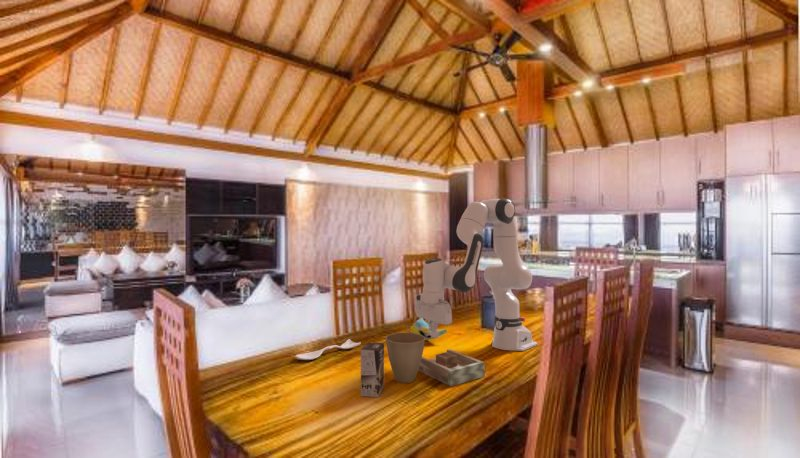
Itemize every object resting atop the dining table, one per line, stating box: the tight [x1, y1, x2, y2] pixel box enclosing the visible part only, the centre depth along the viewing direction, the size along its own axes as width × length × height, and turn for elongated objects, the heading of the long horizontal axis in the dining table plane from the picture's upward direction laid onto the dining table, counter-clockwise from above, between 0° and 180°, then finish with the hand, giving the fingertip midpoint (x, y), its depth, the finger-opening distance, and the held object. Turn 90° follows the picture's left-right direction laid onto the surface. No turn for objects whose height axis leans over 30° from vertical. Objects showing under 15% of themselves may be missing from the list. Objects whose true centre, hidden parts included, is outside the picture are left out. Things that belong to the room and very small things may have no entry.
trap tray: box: [418, 348, 486, 387], centre depth 163 cm, size 17×22×6 cm
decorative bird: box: [406, 318, 448, 341], centre depth 216 cm, size 14×30×9 cm, turn 19°
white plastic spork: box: [295, 338, 361, 361], centre depth 189 cm, size 9×32×4 cm, turn 135°
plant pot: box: [385, 332, 426, 384], centre depth 157 cm, size 15×15×16 cm
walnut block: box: [435, 351, 457, 368], centre depth 165 cm, size 6×6×4 cm
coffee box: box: [360, 342, 385, 398], centre depth 145 cm, size 9×6×16 cm
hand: (433, 331), depth 171 cm, fingers closed
